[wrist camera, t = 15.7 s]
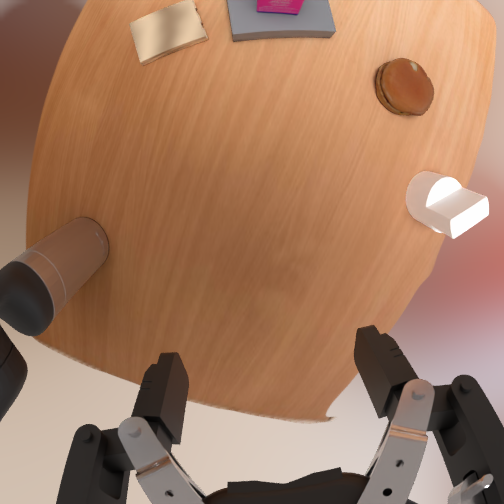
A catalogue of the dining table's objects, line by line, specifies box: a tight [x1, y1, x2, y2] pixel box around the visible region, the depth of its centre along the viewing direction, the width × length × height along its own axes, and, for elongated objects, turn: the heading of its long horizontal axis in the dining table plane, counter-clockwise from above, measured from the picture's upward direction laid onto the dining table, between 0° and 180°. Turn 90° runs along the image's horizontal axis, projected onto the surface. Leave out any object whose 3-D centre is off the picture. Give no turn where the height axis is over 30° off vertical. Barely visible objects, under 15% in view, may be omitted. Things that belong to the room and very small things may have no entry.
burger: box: [376, 58, 434, 116], centre depth 30 cm, size 10×9×5 cm
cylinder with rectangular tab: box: [406, 171, 489, 239], centre depth 34 cm, size 9×9×12 cm
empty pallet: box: [129, 0, 208, 65], centre depth 28 cm, size 10×8×2 cm
